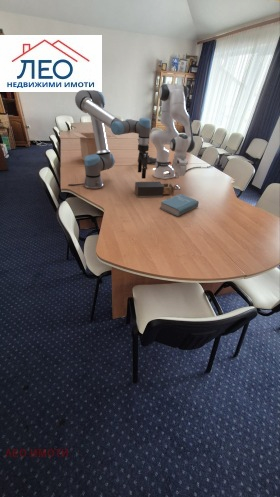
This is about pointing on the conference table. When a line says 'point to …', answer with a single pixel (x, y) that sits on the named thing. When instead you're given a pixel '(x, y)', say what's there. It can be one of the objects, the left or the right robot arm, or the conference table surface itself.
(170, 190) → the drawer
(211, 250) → the conference table surface
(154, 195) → the dark boxy piece
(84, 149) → the box
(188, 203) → the book
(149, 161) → the laser sight
